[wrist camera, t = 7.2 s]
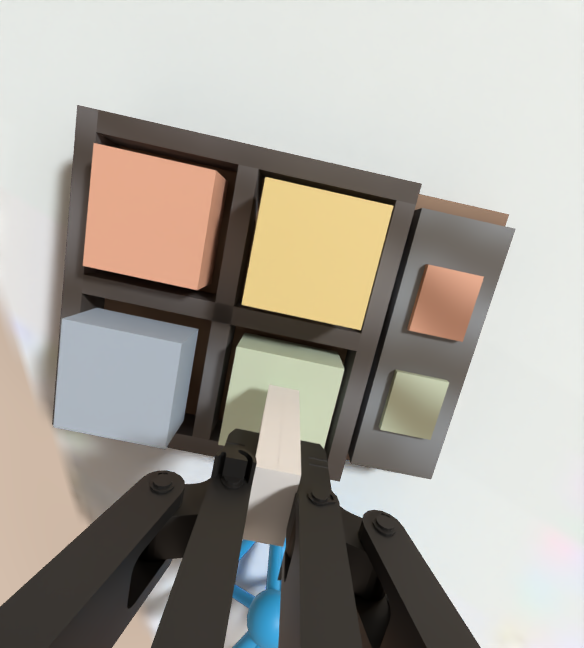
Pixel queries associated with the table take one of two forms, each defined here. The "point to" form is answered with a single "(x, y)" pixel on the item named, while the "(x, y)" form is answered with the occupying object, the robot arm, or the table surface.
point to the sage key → (282, 384)
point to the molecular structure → (262, 603)
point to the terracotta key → (153, 217)
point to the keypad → (351, 344)
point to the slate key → (123, 376)
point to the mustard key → (315, 253)
